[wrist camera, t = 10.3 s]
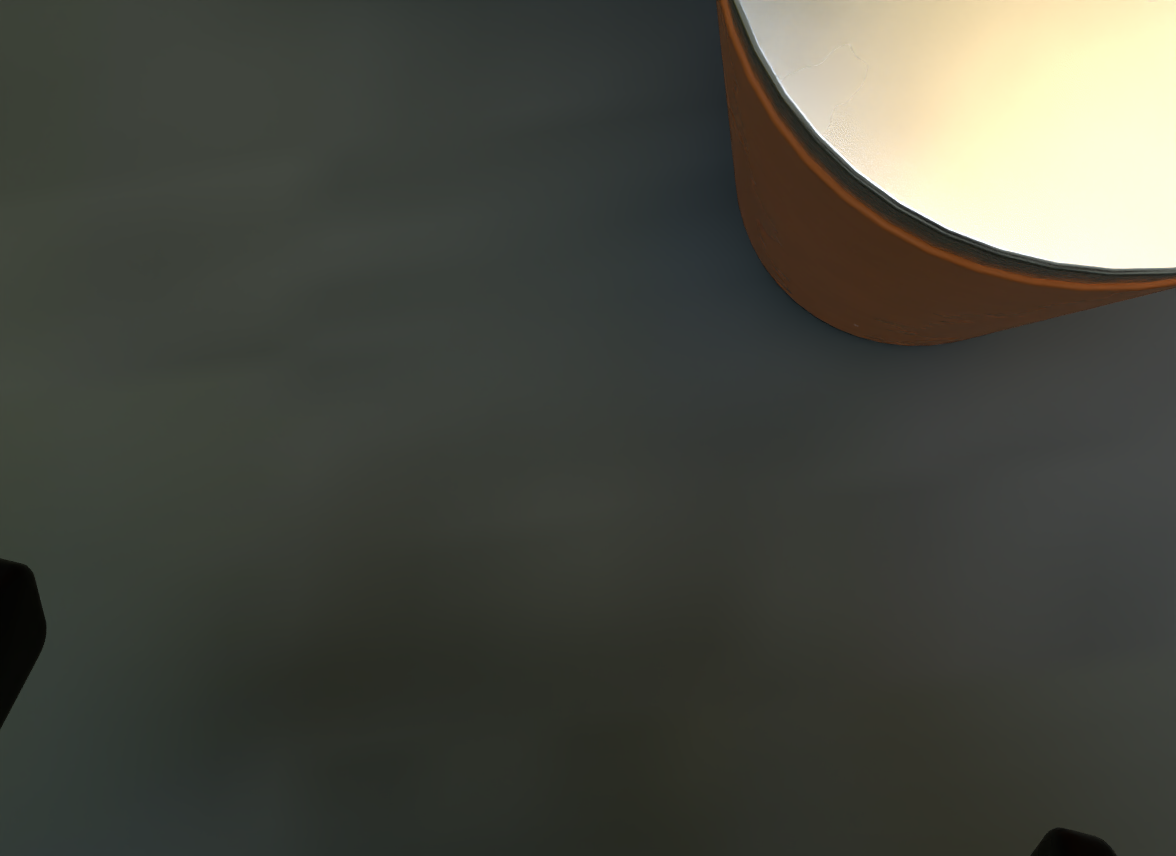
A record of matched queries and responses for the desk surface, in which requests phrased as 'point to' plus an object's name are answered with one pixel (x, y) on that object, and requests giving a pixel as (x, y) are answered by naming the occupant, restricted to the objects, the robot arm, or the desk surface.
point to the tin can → (954, 157)
